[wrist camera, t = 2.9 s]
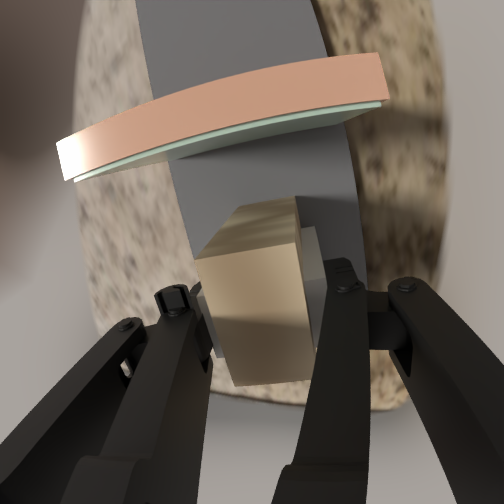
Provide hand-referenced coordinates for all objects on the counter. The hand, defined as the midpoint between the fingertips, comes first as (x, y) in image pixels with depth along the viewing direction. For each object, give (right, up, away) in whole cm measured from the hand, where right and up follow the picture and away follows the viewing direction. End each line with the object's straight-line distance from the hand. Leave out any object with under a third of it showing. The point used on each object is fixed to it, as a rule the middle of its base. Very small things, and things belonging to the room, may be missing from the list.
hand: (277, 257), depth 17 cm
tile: (-1, +7, -2) cm, 7 cm away
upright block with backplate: (0, 0, 0) cm, 1 cm away
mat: (-1, +6, -1) cm, 6 cm away
